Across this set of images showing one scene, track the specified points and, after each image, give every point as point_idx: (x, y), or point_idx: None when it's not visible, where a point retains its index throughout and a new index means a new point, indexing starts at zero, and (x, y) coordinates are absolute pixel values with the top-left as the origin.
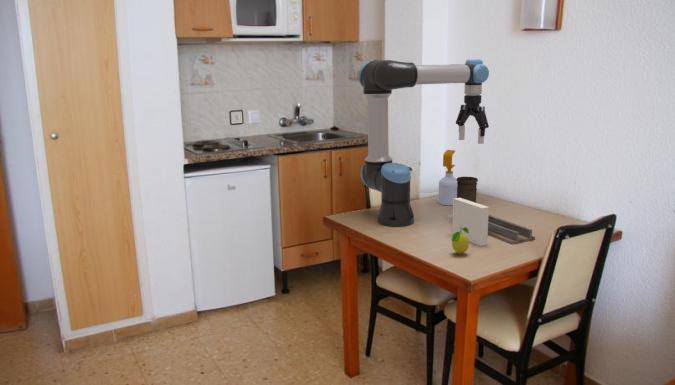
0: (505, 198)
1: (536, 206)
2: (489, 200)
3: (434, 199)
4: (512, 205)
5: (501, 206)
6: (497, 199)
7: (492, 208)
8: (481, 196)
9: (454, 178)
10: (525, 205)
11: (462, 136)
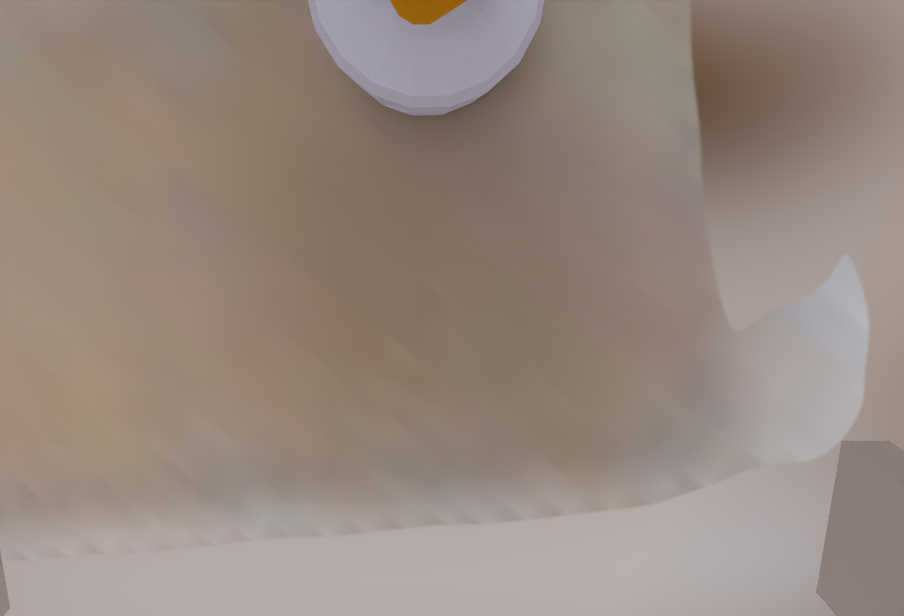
0: (329, 530)
1: (31, 559)
2: (337, 390)
3: (602, 3)
4: (128, 436)
5: (137, 346)
6: (333, 461)
7: (113, 244)
8: (472, 420)
9: (366, 9)
10: (88, 515)
11: (897, 594)
